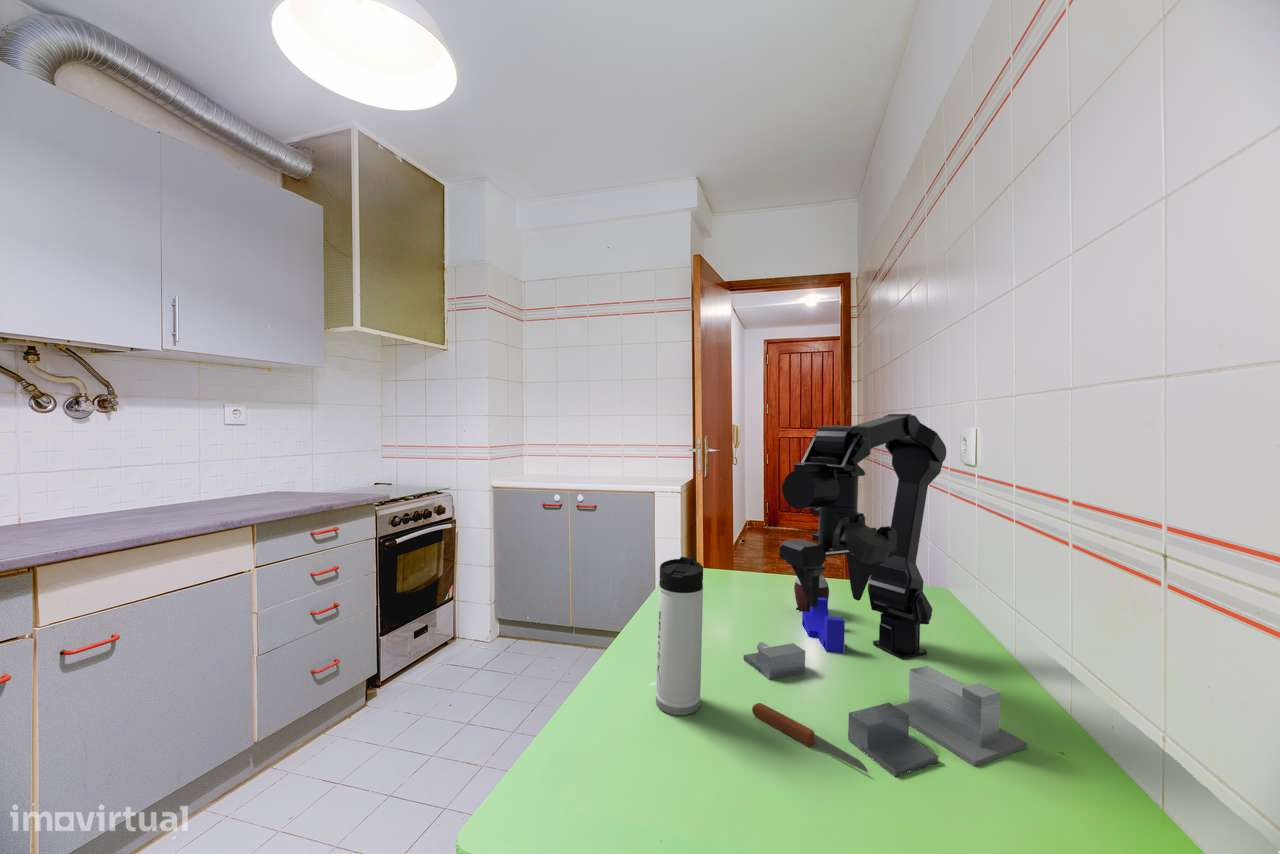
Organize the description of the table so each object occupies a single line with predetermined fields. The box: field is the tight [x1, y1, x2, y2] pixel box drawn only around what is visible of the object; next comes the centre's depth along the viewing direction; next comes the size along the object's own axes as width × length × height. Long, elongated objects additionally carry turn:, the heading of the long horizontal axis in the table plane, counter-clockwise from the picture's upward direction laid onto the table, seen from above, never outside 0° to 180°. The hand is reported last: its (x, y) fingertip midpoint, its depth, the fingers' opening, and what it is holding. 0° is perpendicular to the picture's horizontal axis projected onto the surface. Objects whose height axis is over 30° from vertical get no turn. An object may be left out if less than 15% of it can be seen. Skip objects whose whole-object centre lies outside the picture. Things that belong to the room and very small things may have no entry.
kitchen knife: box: [751, 702, 869, 773], centre depth 62 cm, size 16×1×2 cm, turn 40°
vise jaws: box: [743, 641, 939, 777], centre depth 71 cm, size 7×30×4 cm, turn 22°
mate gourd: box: [793, 574, 830, 612], centre depth 106 cm, size 8×8×15 cm
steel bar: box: [908, 665, 1001, 748], centre depth 66 cm, size 4×10×6 cm, turn 22°
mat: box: [894, 701, 1028, 767], centre depth 66 cm, size 10×12×1 cm
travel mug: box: [655, 556, 704, 716], centre depth 70 cm, size 6×7×20 cm
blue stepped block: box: [801, 597, 846, 654], centre depth 93 cm, size 12×4×6 cm, turn 175°
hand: (835, 603), depth 78 cm, fingers open, 9 cm apart
